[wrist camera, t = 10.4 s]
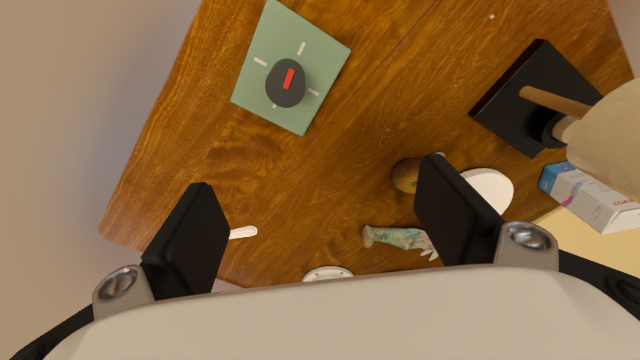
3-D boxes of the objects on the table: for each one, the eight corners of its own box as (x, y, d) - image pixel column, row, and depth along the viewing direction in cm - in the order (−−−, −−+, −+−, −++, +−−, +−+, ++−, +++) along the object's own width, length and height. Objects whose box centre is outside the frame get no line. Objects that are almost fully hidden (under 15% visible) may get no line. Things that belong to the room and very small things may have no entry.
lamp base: (595, 96, 35) (621, 104, 32) (526, 155, 40) (544, 166, 37) (536, 38, 30) (560, 40, 27) (467, 113, 35) (481, 122, 33)
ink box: (535, 188, 44) (600, 237, 35) (543, 165, 41) (617, 212, 32) (585, 177, 44) (666, 225, 34) (597, 153, 41) (689, 198, 31)
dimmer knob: (297, 99, 30) (296, 114, 26) (266, 86, 29) (259, 99, 25) (310, 67, 28) (311, 78, 24) (277, 51, 27) (272, 59, 23)
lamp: (579, 76, 30) (835, 136, 15) (515, 136, 34) (669, 227, 20) (536, 34, 27) (804, 60, 13) (472, 105, 31) (617, 185, 17)
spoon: (261, 238, 48) (261, 240, 47) (175, 253, 49) (174, 256, 48) (252, 219, 45) (251, 221, 44) (159, 236, 46) (158, 238, 45)
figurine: (370, 213, 46) (375, 228, 42) (438, 228, 49) (447, 243, 46) (359, 233, 49) (362, 248, 45) (424, 245, 52) (431, 260, 49)
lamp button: (584, 121, 34) (597, 126, 32) (559, 142, 35) (570, 147, 34) (570, 109, 33) (583, 113, 31) (545, 131, 34) (556, 136, 33)
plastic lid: (416, 225, 48) (421, 235, 46) (441, 163, 40) (449, 172, 38) (481, 224, 49) (490, 233, 47) (518, 165, 42) (530, 173, 39)
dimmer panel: (302, 128, 35) (302, 138, 33) (235, 94, 32) (229, 101, 30) (347, 47, 30) (351, 50, 27) (271, -4, 27) (268, -6, 24)
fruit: (429, 192, 43) (438, 205, 40) (384, 190, 43) (390, 204, 40) (447, 151, 39) (459, 162, 36) (396, 148, 38) (404, 160, 35)
